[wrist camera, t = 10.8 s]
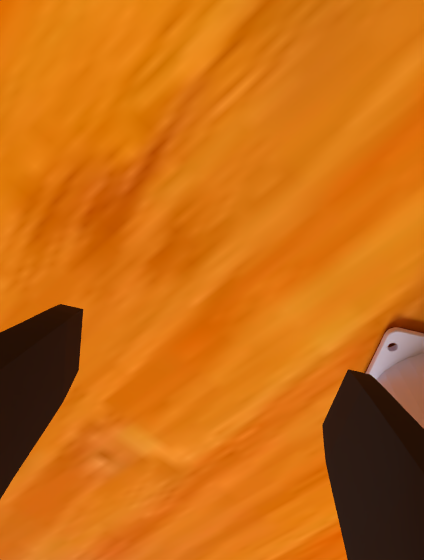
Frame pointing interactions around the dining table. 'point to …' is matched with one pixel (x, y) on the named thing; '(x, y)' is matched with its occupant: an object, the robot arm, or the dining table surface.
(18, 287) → the dining table surface
